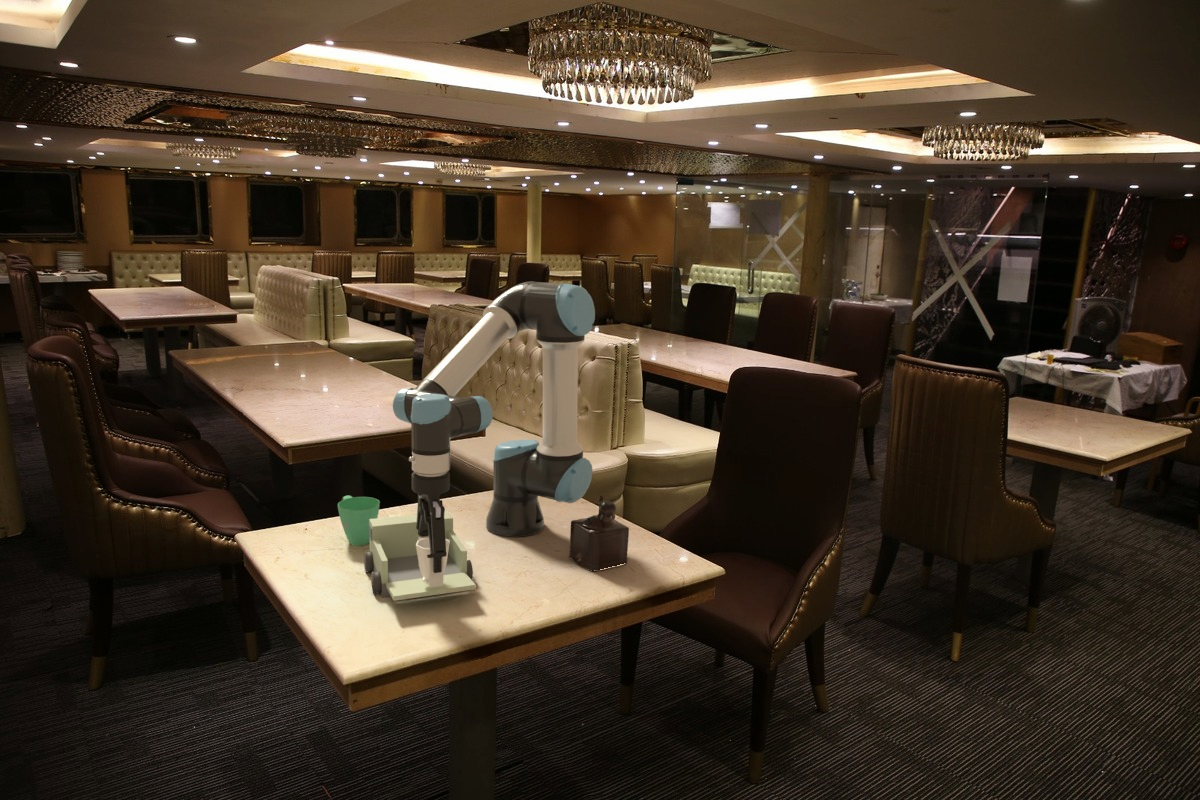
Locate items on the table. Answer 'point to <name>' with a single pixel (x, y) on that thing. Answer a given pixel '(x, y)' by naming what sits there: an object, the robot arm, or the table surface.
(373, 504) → the mug
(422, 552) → the cup
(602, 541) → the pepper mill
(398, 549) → the pickup truck
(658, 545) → the table surface
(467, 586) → the panel
